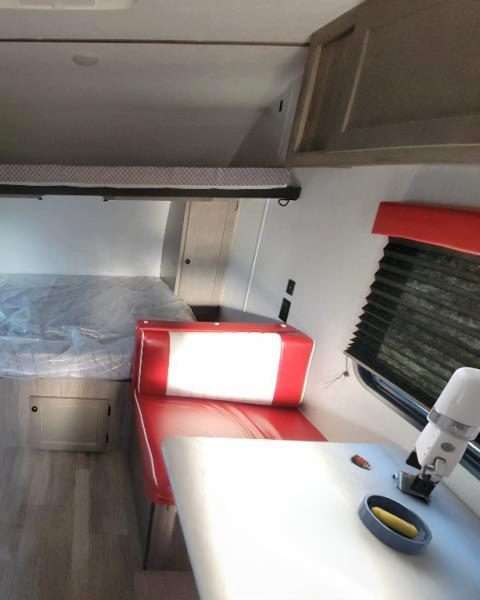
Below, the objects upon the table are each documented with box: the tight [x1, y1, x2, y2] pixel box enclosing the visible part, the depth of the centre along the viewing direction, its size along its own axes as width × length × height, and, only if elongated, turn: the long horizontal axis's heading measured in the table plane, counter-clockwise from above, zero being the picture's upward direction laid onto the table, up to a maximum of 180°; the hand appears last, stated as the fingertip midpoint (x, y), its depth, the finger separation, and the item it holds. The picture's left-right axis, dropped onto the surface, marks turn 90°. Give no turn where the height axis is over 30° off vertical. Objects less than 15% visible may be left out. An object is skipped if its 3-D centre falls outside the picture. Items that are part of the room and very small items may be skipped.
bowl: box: [357, 492, 433, 556], centre depth 83 cm, size 13×13×4 cm
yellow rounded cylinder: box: [370, 507, 418, 538], centre depth 83 cm, size 9×3×3 cm, turn 50°
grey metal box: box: [392, 470, 433, 505], centre depth 96 cm, size 10×7×12 cm
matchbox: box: [350, 453, 371, 470], centre depth 103 cm, size 5×5×1 cm
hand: (415, 478), depth 79 cm, fingers open, 9 cm apart
